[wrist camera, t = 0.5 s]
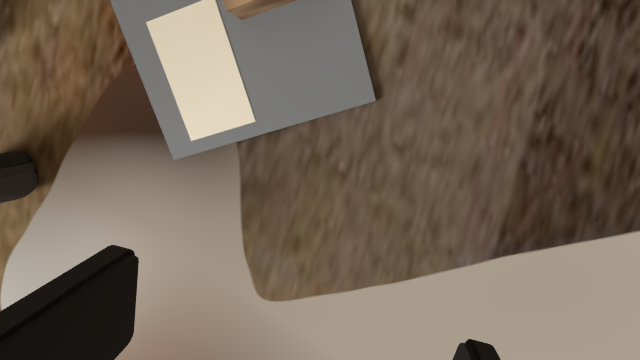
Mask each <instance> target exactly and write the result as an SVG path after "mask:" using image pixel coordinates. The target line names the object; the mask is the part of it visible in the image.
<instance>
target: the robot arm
mask: <svg viewBox="0 0 640 360" xmlns="http://www.w3.org/2000/svg"><path fill="white" fill-rule="evenodd" d="M138 263H139V261H138V257H136V256H135V254H134V251H133V250H131V249H127V248H123V247H120V246H116V245H111V246H108V247H106V248H105V249H103V250H102V251H100V252H98V253H97V254H95V255H93V256H92V257H90V258H88V259H87V260H85V261H83V262H82V263H80V264H78V265H77V266H75V267H73V268H72V269H70V270H69V271H67V272H65V273H63V274H62V275H60V276H59V277H57V278H55V279H53V280H52V281H50V282H49V283H47V284H45V285H44V286H42V287H40V288H39V289H37V290H35V291H34V292H32V293H31V294H29V295H27V296H25V297H24V298H22V299H20V300H19V301H17V302H15V303H14V304H12V305H10V306H9V307H7V308H6V309H4V310H2V311H0V360H114V359H115V358H116V357H117V356H118V355H119V353H121V352H122V351H123V349H124V348H125V347H126V346H127V345H128V343H129V342H130V340H131V338H132V336H133V333H134V321H135V306H136V291H137V277H138V276H137V275H138ZM453 360H500V358H499V356H498V354H497V352H496V350H495V349H494V347H493V346H492V345H490V344H487V343H483V342H479V341H475V340H472V339H468V340H467V341H466V343H460V344H459V346H458V348H457V350H456V353H455V355H454V358H453Z"/></svg>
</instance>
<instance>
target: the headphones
mask: <svg viewBox="0 0 640 360" xmlns="http://www.w3.org/2000/svg"><path fill="white" fill-rule="evenodd" d="M35 169H36V167H35V165H34V163H33V162H30V158H29V156H28V155H27V154H25V153H23V152H7V153H1V154H0V203H3V202H8V201H12V200H16V199H20V198H23V197H25V196H27V195H28V194H30V193H31V192H32V191H33V190H34V189H35V187H36V185H37V176H36V173H35V171H34V170H35Z"/></svg>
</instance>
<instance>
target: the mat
mask: <svg viewBox="0 0 640 360" xmlns="http://www.w3.org/2000/svg"><path fill="white" fill-rule="evenodd" d="M110 1H111V4H112V6H113V9H114V11H115V14H116V16H117V19H118V21H119V24H120V27H121V29H122V32H123V34H124V37H125V39H126V42H127V44H128V47H129V49H130V52H131V54H132V57H133V59H134V62H135V64H136V67H137V69H138V72H139V74H140V77H141V79H142V82H143V84H144V87H145V89H146V92H147V94H148V97H149V99H150V102H151V104H152V107H153V109H154V112H155V114H156V117H157V119H158V122H159V124H160V127H161V129H162V132H163V134H164V137H165V139H166V142H167V144H168V147H169V149H170V151H171V154H172V157H173V160H176V159H179V158H183V157H186V156H190V155H193V154H196V153H200V152H203V151H207V150H210V149H213V148H217V147H220V146H224V145H227V144H230V143H233V142H237V141H241V140H244V139H248V138H251V137H254V136H258V135H261V134H265V133H268V132H271V131H275V130H278V129H282V128H285V127H288V126H292V125H295V124H299V123H302V122H305V121H309V120H312V119H316V118H319V117H322V116H326V115H329V114H333V113H336V112H339V111H343V110H346V109H350V108H353V107H356V106H360V105H363V104H367V103H370V102H374V101H376V99H375V95H374V91H373V87H372V83H371V79H370V75H369V71H368V66H367V62H366V58H365V54H364V50H363V46H362V42H361V38H360V34H359V30H358V26H357V22H356V18H355V14H354V10H353V6H352V2H351V0H296V1H293V2H291V3H288V4H285V5H283V6H280V7H277V8H274V9H272V10H269V11H266V12H264V13H261V14H258V15H255V16H253V17H250V18H247V19H245V20H241V19H239V18H237V17H236V16H234V15H233V14H231V13H229V12H228V11H226V8H225V5H224V2H223V0H110Z"/></svg>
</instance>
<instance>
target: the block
mask: <svg viewBox="0 0 640 360" xmlns="http://www.w3.org/2000/svg"><path fill="white" fill-rule="evenodd" d="M293 1H296V0H223V2H224V5H225V8H226V11H228V12H229V13H231V14H233V15H234V16H236V17H237V18H239V19H241V20H245V19H247V18H250V17H253V16H255V15H258V14H261V13H264V12H266V11H269V10H272V9H274V8H277V7H280V6H283V5H285V4H288V3H291V2H293Z"/></svg>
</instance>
